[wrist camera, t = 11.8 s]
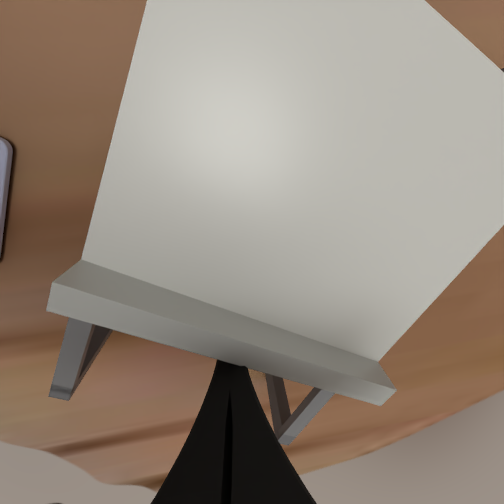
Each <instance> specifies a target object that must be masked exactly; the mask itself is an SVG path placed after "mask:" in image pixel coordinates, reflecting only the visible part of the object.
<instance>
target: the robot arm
mask: <svg viewBox="0 0 504 504" xmlns="http://www.w3.org/2000/svg"><path fill="white" fill-rule="evenodd" d="M12 154H13V150H12V147H11V145H10V143H9V142H8V141H7V140H5V139H3V138H2V137H0V256H1V247H2V239H3V230H4V222H5V213H6V205H7V196H8V188H9V179H10V171H11V162H12ZM151 504H316V502H315V501H314V499H313V498H312V496H311V495H310V493H309V492H308V490H307V489H306V487H305V485H304V484H303V482H302V480H301V479H300V477H299V476H298V474H297V472H296V471H295V469H294V467H293V466H292V464H291V463H290V461H289V459H288V457H287V456H286V454H285V452H284V450H283V449H282V447H281V445H280V443H279V441H278V439H277V437H276V436H275V434H274V432H273V430H272V428H271V426H270V424H269V422H268V420H267V418H266V415H265V413H264V411H263V409H262V407H261V404H260V402H259V400H258V397H257V395H256V392H255V390H254V387H253V384H252V382H251V378H250V375H249V372H248V368H247V367H246V366H239V365H235V364H232V363H228V362H225V361H221V360H218V359H217V363H216V367H215V370H214V374H213V377H212V380H211V383H210V386H209V388H208V391H207V394H206V396H205V399H204V402H203V404H202V407H201V409H200V411H199V414H198V416H197V418H196V420H195V423H194V425H193V427H192V429H191V432H190V434H189V436H188V438H187V440H186V442H185V444H184V446H183V448H182V450H181V452H180V454H179V456H178V457H177V459H176V461H175V463H174V465H173V467H172V468H171V470H170V472H169V474H168V476H167V477H166V479H165V481H164V483H163V484H162V486H161V488H160V489H159V491H158V493H157V495H156V496H155V498H154V499H153V501H152V503H151Z"/></svg>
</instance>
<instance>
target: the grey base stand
mask: <svg viewBox="0 0 504 504" xmlns="http://www.w3.org/2000/svg"><path fill="white" fill-rule="evenodd" d="M501 70H502V71H503V72H504V68H503V69H501ZM112 331H113V330H112V329H109V328H105V327H102V326H98V325H95V324H91V323H88V322H84V321H81V320H77V319H74V318H70V317H69V320H68V324H67V327H66V331H65V335H64V339H63V343H62V347H61V350H60V354H59V358H58V362H57V366H56V370H55V373H54V377H53V381H52V385H51V389H50V393H49V396H48V397H53V398H58V399H63V400H68V401H69V400H70V398H71V396H72V395H73V393H74V392H75V390H76V388H77V387H78V385H79V384H80V382H81V380H82V379H83V377H84V376H85V374H86V372H87V371H88V369H89V368H90V366H91V364H92V363H93V361H94V360H95V358H96V356H97V355H98V353H99V352H100V350H101V348H102V347H103V345H104V344H105V342H106V340H107V339H108V337H109V336H110V334H111V332H112ZM265 375H266V381H267V388H268V394H269V401H270V407H271V414H272V420H273V426H274V433H275V436H276V437H277V439H278V441H279V443H280V444H284V445H289V444H290V443H291V442H292V441H293V440H294V439H295V438H296V436H297V435H298V434H299V433H300V432H301V431H302V430H303V429H304V427H305V426H306V425H307V424H308V423H309V422H310V421H311V420H312V418H313V417H314V416H315V415H316V414H317V413H318V412H319V411H320V409H321V408H322V407H323V406H324V405H325V404H326V403H327V402H328V400H329V399H330V398H331V397H332V396H333V395H334V394H335V393H334V392H330V391H326V390H323V389H319V388H316V387H314V388H313V389H312V391H311V392H310V393H309V394H308V395H307V397H306V398H305V399H304V400H303V401H302V403H301V404H300V405H299V406H298V407H297V409H296V410H295V411H294V412H293V413H292V415H291V413H290V409H289V404H288V400H287V395H286V391H285V386H284V382H283V378H281V377H277V376H274V375H270V374H267V373H265Z"/></svg>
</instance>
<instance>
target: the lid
mask: <svg viewBox="0 0 504 504" xmlns="http://www.w3.org/2000/svg"><path fill="white" fill-rule="evenodd" d="M503 225H504V72H503V71H502V70H501V69H499V68H498V67H497V66H496V65H495V64H494V63H493V62H492V61H491V60H490V59H488V58H487V57H486V56H485V55H484V54H483V53H482V52H481V51H480V50H479V49H477V48H476V47H475V46H474V45H473V44H472V43H471V42H470V41H469V40H468V39H466V38H465V37H464V36H463V35H462V34H461V33H460V32H459V31H458V30H457V29H455V28H454V27H453V26H452V25H451V24H450V23H449V22H448V21H447V20H446V19H444V18H443V17H442V16H441V15H440V14H439V13H438V12H437V11H436V10H435V9H433V8H432V7H431V6H430V5H429V4H428V3H427V2H426V1H425V0H147V4H146V7H145V11H144V15H143V19H142V23H141V27H140V31H139V35H138V39H137V43H136V47H135V51H134V54H133V58H132V62H131V66H130V70H129V74H128V78H127V82H126V86H125V90H124V94H123V98H122V101H121V105H120V109H119V113H118V117H117V121H116V125H115V129H114V133H113V137H112V141H111V144H110V148H109V152H108V156H107V160H106V164H105V168H104V172H103V176H102V180H101V184H100V188H99V191H98V195H97V199H96V203H95V207H94V211H93V215H92V219H91V223H90V227H89V231H88V234H87V238H86V242H85V246H84V250H83V254H82V258H81V260H80V261H78V262H77V263H76V264H75V265H73V266H72V267H71V268H70V269H68V270H67V271H66V272H64V273H63V274H62V275H61V276H59V277H58V278H57V279H55V280H54V281H53V282H52V286H51V291H50V295H49V300H48V304H47V309H46V311H49V312H53V313H56V314H60V315H63V316H67V317H70V318H74V319H77V320H81V321H84V322H88V323H91V324H95V325H98V326H102V327H105V328H109V329H112V330H116V331H119V332H123V333H126V334H130V335H133V336H137V337H140V338H144V339H147V340H151V341H154V342H158V343H161V344H165V345H169V346H172V347H176V348H179V349H183V350H186V351H190V352H193V353H197V354H200V355H204V356H207V357H211V358H214V359H218V360H221V361H225V362H228V363H232V364H235V365H239V366H246V367H247V368H249V369H253V370H256V371H260V372H263V373H267V374H270V375H274V376H277V377H281V378H284V379H288V380H291V381H295V382H298V383H302V384H305V385H309V386H312V387H316V388H319V389H323V390H326V391H330V392H334V393H337V394H341V395H344V396H348V397H351V398H355V399H358V400H362V401H365V402H369V403H372V404H376V405H379V406H381V405H382V404H383V403H384V402H385V401H386V400H387V399H388V398H390V397H391V396H392V395H393V394H394V393H395V392H396V391H397V389H396V388H395V387H394V385H393V384H392V382H391V381H390V379H389V378H388V376H387V375H386V373H385V372H384V370H383V369H382V367H381V366H380V364H379V363H378V361H379V360H380V359H381V358H382V357H383V356H384V355H385V353H386V352H387V351H388V350H389V349H390V348H391V347H392V346H393V345H394V344H395V343H396V341H397V340H398V339H399V338H400V337H401V336H402V335H403V334H404V333H405V332H406V331H407V329H408V328H409V327H410V326H411V325H412V324H413V323H414V322H415V321H416V320H417V319H418V318H419V316H420V315H421V314H422V313H423V312H424V311H425V310H426V309H427V308H428V307H429V306H430V304H431V303H432V302H433V301H434V300H435V299H436V298H437V297H438V296H439V295H440V294H441V293H442V291H443V290H444V289H445V288H446V287H447V286H448V285H449V284H450V283H451V282H452V281H453V279H454V278H455V277H456V276H457V275H458V274H459V273H460V272H461V271H462V270H463V269H464V267H465V266H466V265H467V264H468V263H469V262H470V261H471V260H472V259H473V258H474V257H475V256H476V254H477V253H478V252H479V251H480V250H481V249H482V248H483V247H484V246H485V245H486V244H487V242H488V241H489V240H490V239H491V238H492V237H493V236H494V235H495V234H496V233H497V232H498V231H499V229H500V228H501V227H502V226H503Z"/></svg>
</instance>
